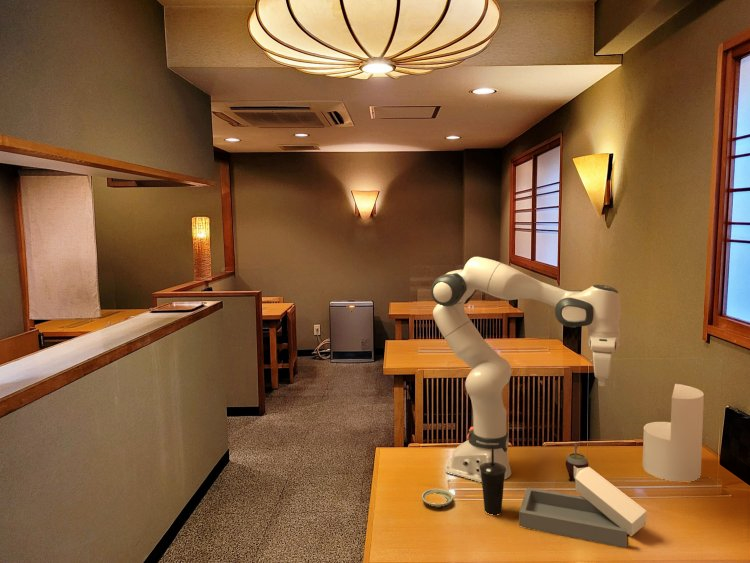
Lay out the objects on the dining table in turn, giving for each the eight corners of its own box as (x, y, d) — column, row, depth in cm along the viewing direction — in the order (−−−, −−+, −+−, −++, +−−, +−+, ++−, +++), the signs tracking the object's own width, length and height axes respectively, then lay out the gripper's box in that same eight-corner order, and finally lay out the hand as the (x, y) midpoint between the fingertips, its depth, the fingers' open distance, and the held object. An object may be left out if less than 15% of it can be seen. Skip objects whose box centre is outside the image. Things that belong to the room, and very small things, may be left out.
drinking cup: (507, 506, 162) (507, 443, 159) (504, 520, 154) (504, 454, 152) (481, 503, 164) (481, 440, 162) (478, 516, 157) (477, 451, 155)
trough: (519, 526, 151) (519, 511, 150) (526, 501, 164) (526, 487, 164) (626, 548, 140) (626, 531, 139) (625, 518, 153) (625, 503, 153)
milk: (632, 523, 141) (566, 471, 158) (631, 537, 144) (566, 483, 161) (647, 510, 143) (580, 459, 160) (646, 523, 146) (580, 472, 163)
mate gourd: (578, 472, 182) (578, 430, 180) (594, 483, 174) (595, 439, 173) (560, 476, 179) (560, 433, 178) (575, 487, 172) (576, 442, 170)
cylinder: (701, 465, 184) (704, 387, 181) (700, 487, 170) (703, 402, 166) (645, 455, 193) (647, 380, 190) (639, 475, 179) (641, 394, 176)
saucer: (456, 498, 168) (456, 491, 167) (447, 514, 159) (447, 506, 159) (427, 493, 172) (427, 486, 171) (417, 508, 163) (417, 500, 163)
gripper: (593, 332, 169) (592, 374, 171) (590, 346, 151) (589, 393, 152) (615, 333, 166) (613, 376, 168) (614, 348, 148) (613, 396, 150)
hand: (601, 384), depth 160 cm, fingers closed
